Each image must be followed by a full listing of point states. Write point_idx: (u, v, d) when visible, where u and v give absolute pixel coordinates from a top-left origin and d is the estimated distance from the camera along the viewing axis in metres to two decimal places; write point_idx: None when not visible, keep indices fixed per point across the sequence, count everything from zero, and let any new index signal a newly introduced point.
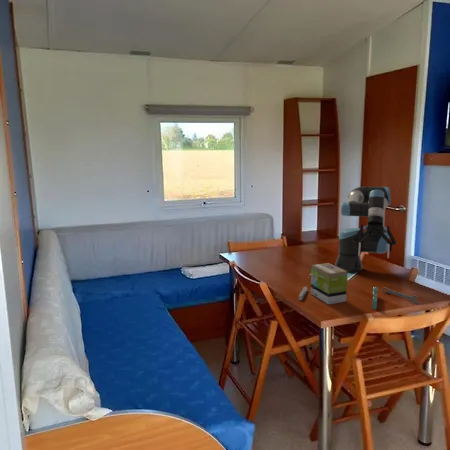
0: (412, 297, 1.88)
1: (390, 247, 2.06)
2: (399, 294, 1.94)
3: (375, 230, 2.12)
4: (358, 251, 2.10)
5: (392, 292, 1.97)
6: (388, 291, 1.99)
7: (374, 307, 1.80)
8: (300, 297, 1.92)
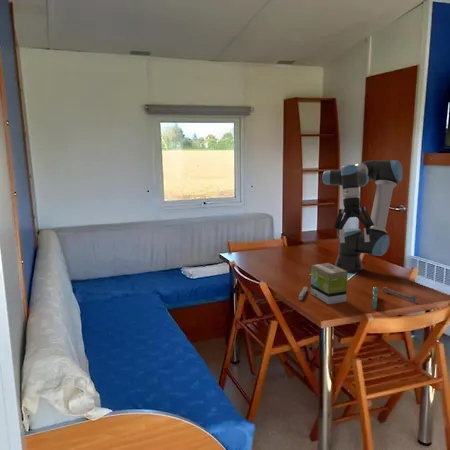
0: (412, 297, 1.88)
1: (367, 231, 1.92)
2: (399, 294, 1.94)
3: (351, 213, 1.97)
4: (340, 239, 2.03)
5: (392, 292, 1.97)
6: (388, 291, 1.99)
7: (374, 307, 1.80)
8: (300, 297, 1.92)
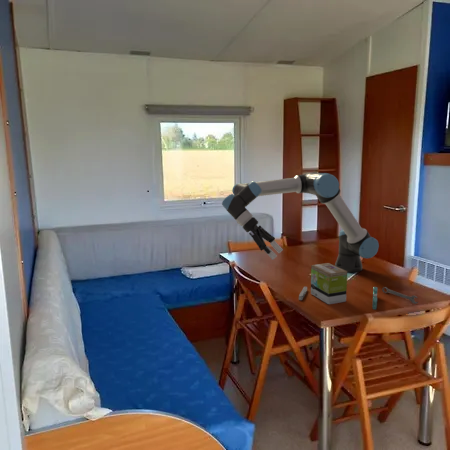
0: (411, 297, 1.87)
1: None
2: (398, 294, 1.94)
3: None
4: (277, 251, 2.06)
5: (392, 292, 1.97)
6: (388, 291, 1.99)
7: (374, 307, 1.80)
8: (300, 297, 1.92)
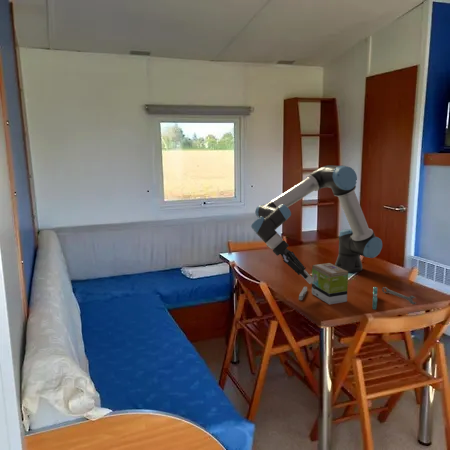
0: (409, 297, 1.87)
1: None
2: (397, 294, 1.94)
3: None
4: None
5: (391, 292, 1.97)
6: (387, 291, 1.99)
7: (374, 307, 1.80)
8: (300, 297, 1.92)
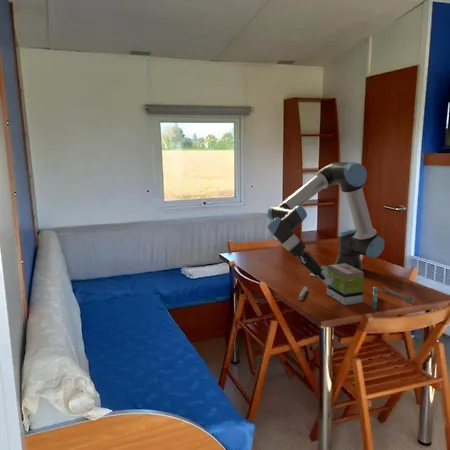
0: (409, 298, 1.87)
1: None
2: (397, 294, 1.94)
3: None
4: (325, 282, 1.94)
5: (391, 292, 1.97)
6: (387, 291, 1.99)
7: (374, 307, 1.80)
8: (300, 297, 1.92)
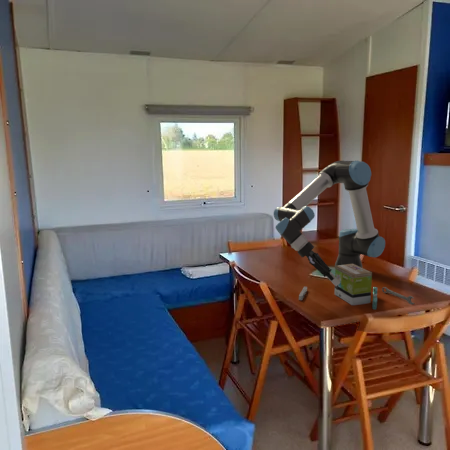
0: (408, 298, 1.87)
1: None
2: (397, 294, 1.93)
3: None
4: None
5: (390, 292, 1.97)
6: (387, 291, 1.99)
7: (374, 307, 1.80)
8: (300, 297, 1.92)
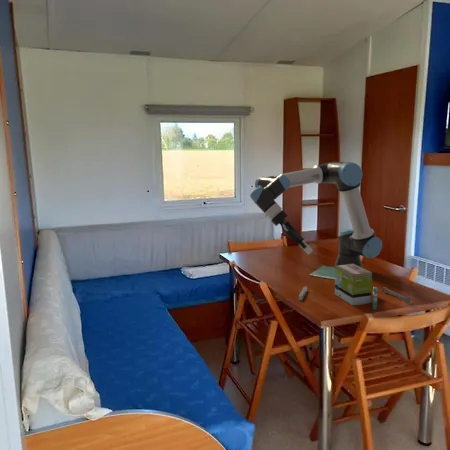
0: (407, 298, 1.87)
1: None
2: (396, 294, 1.93)
3: None
4: (306, 251, 1.95)
5: (390, 292, 1.97)
6: (387, 291, 1.99)
7: (374, 307, 1.80)
8: (300, 297, 1.92)
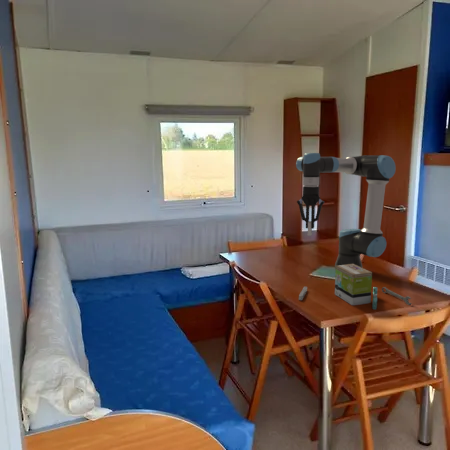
0: (405, 298, 1.87)
1: (312, 225, 2.00)
2: (395, 294, 1.93)
3: (310, 202, 1.98)
4: None
5: (390, 292, 1.97)
6: (386, 291, 1.99)
7: (374, 307, 1.80)
8: (300, 297, 1.92)
